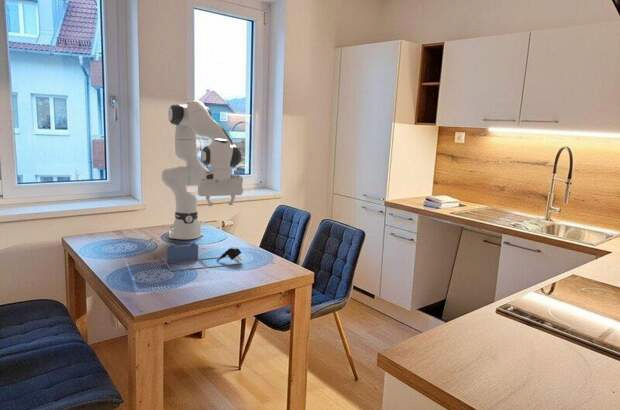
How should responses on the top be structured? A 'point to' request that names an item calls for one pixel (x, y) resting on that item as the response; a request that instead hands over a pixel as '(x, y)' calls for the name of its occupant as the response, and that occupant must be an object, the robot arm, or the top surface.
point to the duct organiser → (187, 255)
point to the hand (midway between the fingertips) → (220, 205)
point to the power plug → (231, 254)
